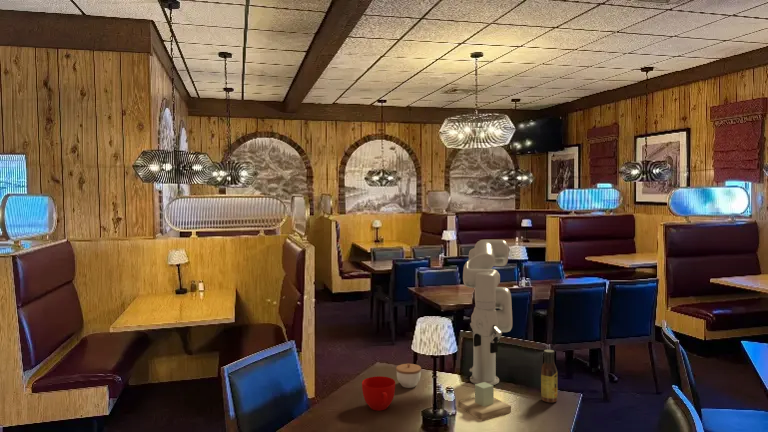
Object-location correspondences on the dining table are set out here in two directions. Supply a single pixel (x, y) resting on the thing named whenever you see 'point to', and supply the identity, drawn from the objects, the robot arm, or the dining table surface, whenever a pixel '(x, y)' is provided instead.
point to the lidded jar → (408, 374)
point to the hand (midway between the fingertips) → (485, 349)
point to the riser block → (484, 408)
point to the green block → (484, 394)
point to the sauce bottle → (549, 378)
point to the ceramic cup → (378, 392)
